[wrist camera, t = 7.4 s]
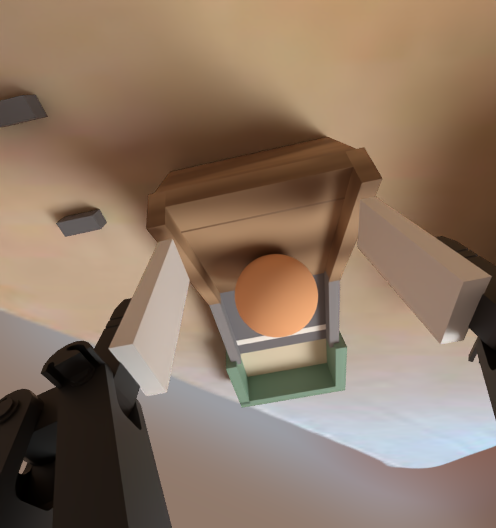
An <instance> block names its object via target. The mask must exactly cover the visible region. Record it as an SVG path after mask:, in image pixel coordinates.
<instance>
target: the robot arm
mask: <svg viewBox="0 0 496 528" xmlns="http://www.w3.org/2000/svg"><path fill="white" fill-rule="evenodd" d="M357 247H358V248H359V249H360V250H361V252H362V253H363V254H364V255H365V256H366V257H367V259H368V260H369V261H370V262H371V263H372V265H373V266H374V267H375V268H376V269H377V270H378V272H379V273H380V274H381V275H382V276H383V277H384V279H385V280H386V281H387V282H388V283H389V284H390V286H391V287H392V288H393V289H394V290H395V291H396V293H397V294H398V295H399V296H400V297H401V299H402V300H403V301H404V302H405V303H406V304H407V306H408V307H409V308H410V309H411V310H412V311H413V313H414V314H415V315H416V316H417V317H418V318H419V320H420V321H421V322H422V323H423V324H424V325H425V327H426V328H427V329H428V330H429V331H430V333H431V334H432V335H433V336H434V337H435V338H436V340H437V341H438V342H439V343H440V344H445V343H450V342H456V341H462V340H464V338H465V336H466V334H467V331H468V329H469V328H470V329H471V330H472V331H473V332H474V333H475V334H476V335H477V336H478V337H477V340H476V342H475V344H474V346H473V348H472V350H471V352H470V354H469V360H468V361H471V362H473V360H474V358H475V356H476V354H478V358H479V363H480V365H481V369H482V372H483V376H484V379H485V383H486V386H487V390H488V394H489V397H490V401H491V404H492V408H493V412H494V415H495V419H496V266H494V265H493V264H491V263H490V262H488V261H486V260H485V259H483V258H482V257H480V256H477V254H475V253H474V252H472V251H471V250H468V248H466V247H465V246H463V245H461V244H460V243H458V242H457V241H454V240H451V239H448V238H445V237H443V236H440V237H434V236H432V235H431V234H429V233H428V232H426V231H425V230H424V229H422V228H421V227H419V226H418V225H416V224H415V223H413V222H412V221H410V220H409V219H408V218H406V217H405V216H403V215H402V214H400V213H399V212H397V211H396V210H395V209H393V208H392V207H390V206H389V205H387V204H386V203H384V202H383V201H381V200H380V199H379V198H377V197H376V196H375V197H371V198H366V199H361V200H360V210H359V227H358V244H357ZM189 281H190V280H189V277H188V275H187V272H186V270H185V267H184V265H183V263H182V260H181V258H180V255H179V253H178V250H177V248H176V246H175V243H174V241H173V239H169V240H164V241H160V242H158V244H157V246H156V248H155V250H154V252H153V254H152V256H151V259H150V261H149V263H148V265H147V267H146V269H145V271H144V274H143V276H142V278H141V280H140V282H139V284H138V286H137V289H136V291H135V293H134V295H133V297H132V298H130V299H125V300H123V301H122V302H121V303H120V304H119V305H118V306H117V308H116V309H115V310H114V312H113V314H112V316H111V318H110V321H108V323H107V325H106V329H104V331H103V333H102V335H101V337H100V339H99V341H98V342H97V344H96V346H95V348H93V347H92V346H91V345H90V344H89V343H88V342H86V341H76V342H73V343H71V344H68V345H66V346H65V347H63V348H61V349H60V350H58V351H57V352H56V353H55V354H54V355H52V356H51V357H50V358H49V359H48V361H47V362H46V363H45V365H44V366H43V369H42V371H41V374H42V375H43V376H45V377H46V378H47V379H48V380H49V381H50V382H51V383H52V384H54V385H55V386H56V387H55V388H53V389H50V390H48V391H46V392H44V393H42V394H40V395H37V396H36V395H35V394H34V393H32V392H31V391H30V390H27V389H21V390H17V391H14V392H12V393H10V394H8V395H6V396H5V397H4V398H2V399H1V400H0V528H172V526H171V522H170V518H169V514H168V510H167V506H166V502H165V498H164V495H163V491H162V487H161V483H160V479H159V475H158V471H157V467H156V463H155V459H154V455H153V451H152V447H151V443H150V440H149V435H148V431H147V428H146V424H145V420H144V416H143V412H142V408H141V405H140V403H139V401H138V400H137V399H136V398H137V395H138V391H139V388H141V390H142V391H143V392H144V393H145V395H146V396H149V395H155V394H161V393H166V392H167V390H168V385H169V380H170V375H171V370H172V365H173V360H174V355H175V350H176V345H177V340H178V335H179V331H180V326H181V321H182V316H183V311H184V306H185V301H186V296H187V291H188V286H189ZM23 460H24V461H26V462H27V465H26V468H25V470H24V472H23V473H22V474H19V470H20V467H21V464H22V462H23Z"/></svg>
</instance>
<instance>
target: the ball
mask: <svg viewBox="0 0 496 528" xmlns="http://www.w3.org/2000/svg"><path fill="white" fill-rule="evenodd" d="M235 303H236V307H237V310H238V313H239V315H240V317H241V318H242V320H243V321H244V322H245V323H246V324H247V325H248V326H249V327H250V328H251V329H252V330H254V331H255V332H257V333H259V334H261V335H264V336H268V337H286V336H290V335H292V334H295V333H296V332H298V331H300V330H301V329H303V328H304V327H305V326H306V325H307V324H308V323H309V321H310V320H311V319H312V317H313V315H314V313H315V310H316V308H317V303H318V290H317V285H316V282H315V279H314V277H313V276H312V274H311V272H310V271H309V270H308V268H307V267H306V266H305V265H304V264H302V263H301V262H300V261H298V260H296V259H294V258H292V257H290V256H287V255H282V254H269V255H265V256H262V257H259V258H257V259H255V260H254V261H252V262H251V263H250V264H248V265H247V266H246V267H245V268H244V270H243V271H242V272H241V274H240V276H239V278H238V280H237V283H236V287H235Z"/></svg>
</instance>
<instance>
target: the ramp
mask: <svg viewBox="0 0 496 528" xmlns="http://www.w3.org/2000/svg"><path fill="white" fill-rule="evenodd" d="M381 181H382V177H381V175H380V174H379V172H378V170H377V169H376V167H375V165H374V163H373V162H372V160H371V158H370V157H369V155H368V153H367V152H366V150H365V148H359V149H355V148H353V147H351V146H348V145H346V144H343V143H341V142H339V141H336V140H334V139H332V138H329V137H325V138H320V139H316V140H311V141H307V142H302V143H298V144H293V145H289V146H284V147H280V148H275V149H271V150H266V151H262V152H257V153H253V154H248V155H244V156H239V157H235V158H230V159H226V160H221V161H217V162H212V163H208V164H203V165H199V166H194V167H190V168H185V169H181V170H176V171H172V172H170V173H169V174H168V175H167V177H166V178H165V179H164V181H163V182H162V183H161V185H160V186H159V187H158V189H157V190H156V191H155V193H154V194H149V195H148V208H147V224H146V229H147V230H148V231H149V233H150V234H151V235H152V236H153V238H154V239H155V240H156V241H157V242H160V241H164V240H169V239H173V241H174V243H175V246H176V248H177V250H178V253H179V255H180V258H181V260H182V263H183V265H184V267H185V270H186V272H187V275H188V277H189V280H190V283H191V284H192V285H193V286H194V287H195V289H196V290H197V291H198V292H199V293H200V295H201V296H202V297H203V298H204V300H205V301H206V302H207V303H208V304H209V305H213V304H219V303H220V304H221V298H220V293H224V292H229V291H234V290H235V287H236V283H237V280H238V278H239V276H240V274H241V272H242V271H243V270H244V268H245V267H246V266H247V265H248V264H250V263H251V262H252V261H254V260H255V259H257V258H259V257H262V256H265V255H269V254H282V255H287V256H290V257H292V258H294V259H296V260H298V261H300V262H301V263H302V264H304V265H305V266H306V267H307V268H308V270H309V271H310V272H311V274H312V275H316V274H321V273H324V272H325V271H326V273H327V275H328V277H329V282H333V281H338V280H340V279H341V276H342V274H343V272H344V269H345V267H346V264H347V262H348V260H349V257H350V255H351V252H352V250H353V248H354V245H355V243H356V241H357V238H358V227H359V210H360V200H361V199H366V198H371V197H375V195H376V193H377V190H378V188H379V186H380V183H381Z"/></svg>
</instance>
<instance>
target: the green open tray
mask: <svg viewBox="0 0 496 528" xmlns="http://www.w3.org/2000/svg"><path fill="white" fill-rule="evenodd" d="M333 345H334V347H332V348H330V347H329V344H328V342H327V339H320V340H315V341H309V342H304V343H298V344H293V345H287V346H282V347H276V348H271V349H265V350H260V351H254V352H249V353H243V354H241V364H237V361H235V362H231V360H230V358H229V355H228V353H227V350H226V370H227V373H228V375H229V378H230V380H231V382H232V385H233V387H234V390H235V392H236V394H237V397H238V399H239V402H240V404H241V406H242V407H249V406H255V405H261V404H266V403H272V402H278V401H284V400H290V399H296V398H302V397H307V396H313V395H319V394H325V393H331V392H337V391H343V390H345V383H346V360H347V346H346V344H345V342H344V340H343V338H342V335H341V333H340V331H339V343H335V344H333Z"/></svg>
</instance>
